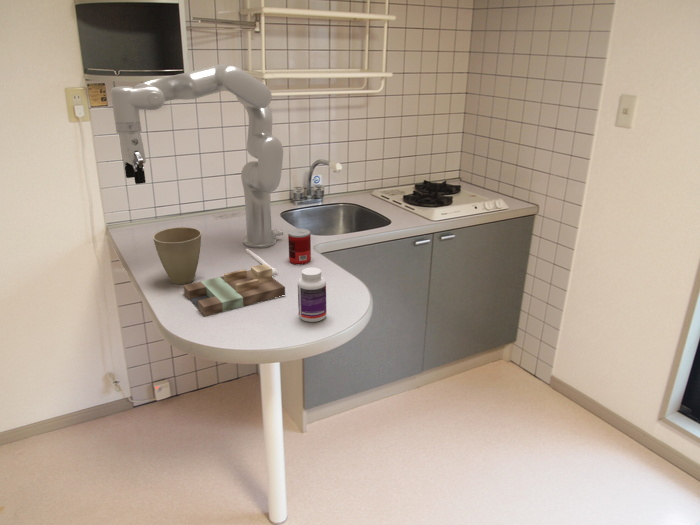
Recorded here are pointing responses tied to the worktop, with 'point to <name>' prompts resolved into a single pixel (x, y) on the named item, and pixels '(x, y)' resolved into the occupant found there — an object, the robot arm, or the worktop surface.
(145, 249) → the worktop surface
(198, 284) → the wooden block puzzle
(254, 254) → the white knobbed rod
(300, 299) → the pill bottle
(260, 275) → the block
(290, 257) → the canned food
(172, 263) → the plant pot
